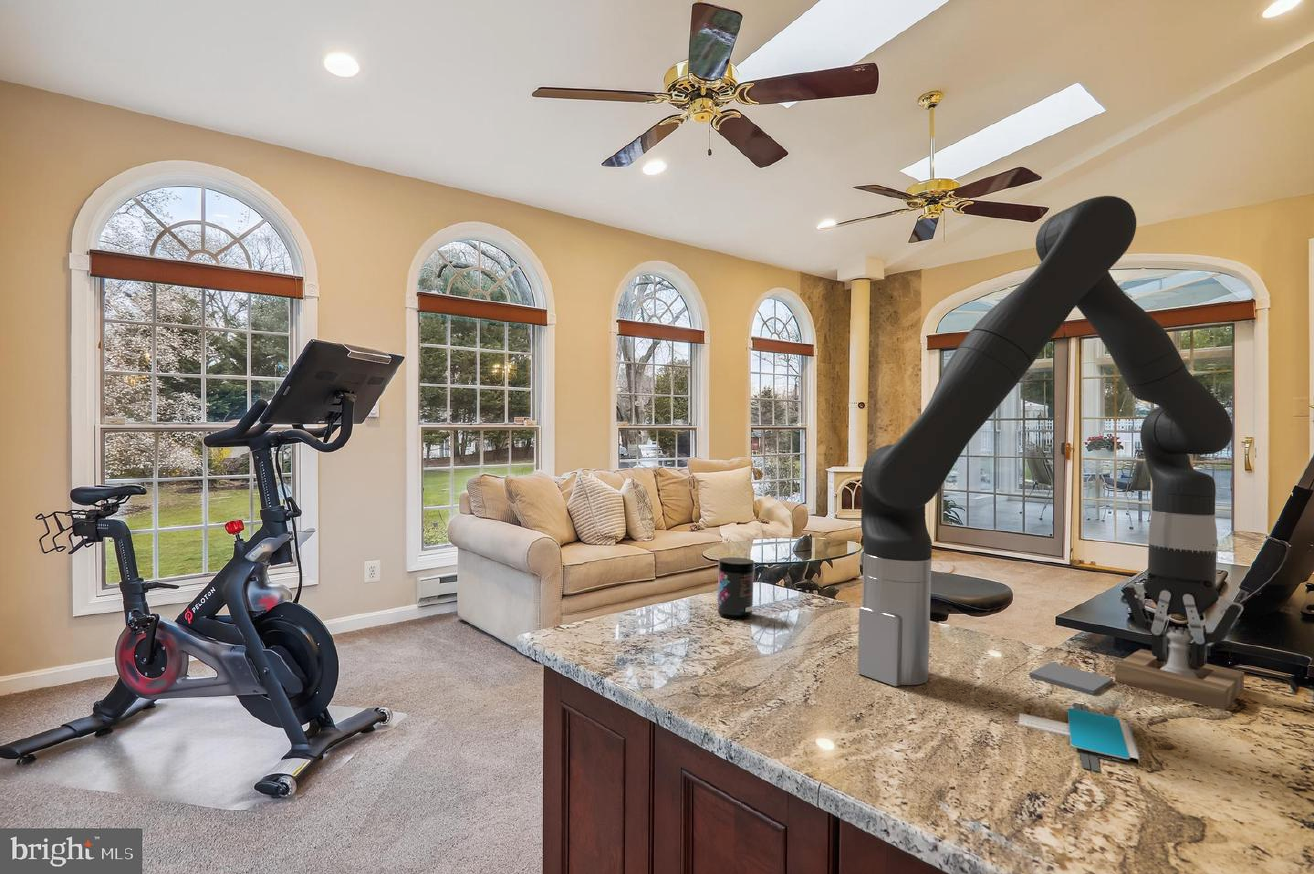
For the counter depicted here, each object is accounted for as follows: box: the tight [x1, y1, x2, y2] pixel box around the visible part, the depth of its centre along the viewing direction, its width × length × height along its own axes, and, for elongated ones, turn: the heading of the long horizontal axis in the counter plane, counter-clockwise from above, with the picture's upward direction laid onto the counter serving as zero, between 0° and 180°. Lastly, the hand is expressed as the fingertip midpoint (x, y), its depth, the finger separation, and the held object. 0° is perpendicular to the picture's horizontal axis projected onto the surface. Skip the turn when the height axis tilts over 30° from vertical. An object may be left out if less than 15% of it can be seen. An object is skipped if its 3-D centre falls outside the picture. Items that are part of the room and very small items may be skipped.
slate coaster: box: [1028, 661, 1114, 696], centre depth 92 cm, size 8×8×1 cm
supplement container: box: [717, 556, 755, 620], centre depth 121 cm, size 7×7×10 cm
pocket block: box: [1114, 648, 1245, 711], centre depth 91 cm, size 12×12×2 cm
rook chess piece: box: [1160, 625, 1197, 678], centre depth 91 cm, size 4×4×8 cm
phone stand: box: [1018, 702, 1145, 773], centre depth 74 cm, size 20×12×2 cm, turn 149°
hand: (1178, 664), depth 91 cm, fingers closed on rook chess piece, 3 cm apart
